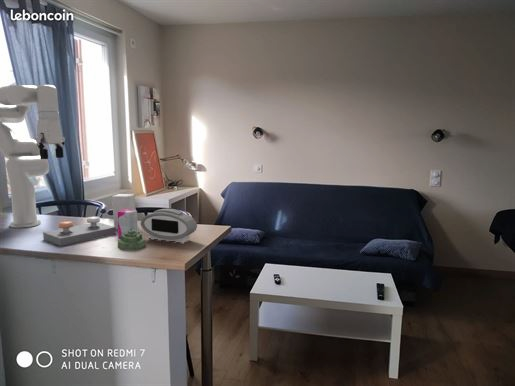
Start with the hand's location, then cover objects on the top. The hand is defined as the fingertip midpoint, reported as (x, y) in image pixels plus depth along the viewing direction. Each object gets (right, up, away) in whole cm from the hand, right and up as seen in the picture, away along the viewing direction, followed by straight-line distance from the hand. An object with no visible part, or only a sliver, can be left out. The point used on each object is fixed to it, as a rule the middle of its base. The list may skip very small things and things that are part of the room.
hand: (52, 158), depth 171 cm
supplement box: (+31, -33, +1) cm, 46 cm away
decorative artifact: (+36, -35, -10) cm, 52 cm away
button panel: (+11, -33, +1) cm, 34 cm away
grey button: (+15, -30, +6) cm, 34 cm away
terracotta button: (+8, -31, -4) cm, 32 cm away
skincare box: (+25, -31, +16) cm, 43 cm away
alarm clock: (+49, -34, -1) cm, 59 cm away
